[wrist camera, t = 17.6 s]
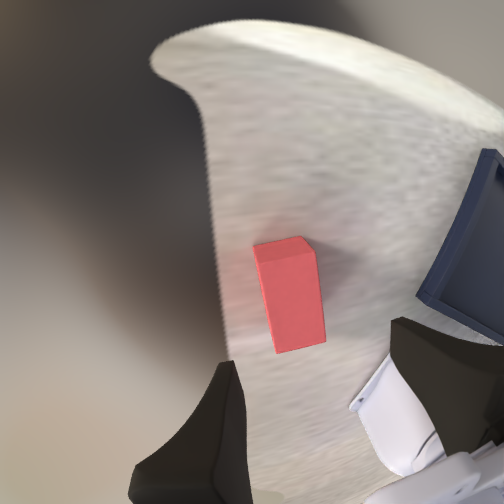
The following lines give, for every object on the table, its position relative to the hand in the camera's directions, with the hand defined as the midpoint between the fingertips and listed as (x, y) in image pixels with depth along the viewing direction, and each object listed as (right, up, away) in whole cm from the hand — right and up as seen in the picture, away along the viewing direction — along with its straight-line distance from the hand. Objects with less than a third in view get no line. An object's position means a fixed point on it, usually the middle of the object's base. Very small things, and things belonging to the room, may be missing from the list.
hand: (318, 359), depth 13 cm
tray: (+22, +3, +9) cm, 24 cm away
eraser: (-1, +3, +8) cm, 8 cm away
